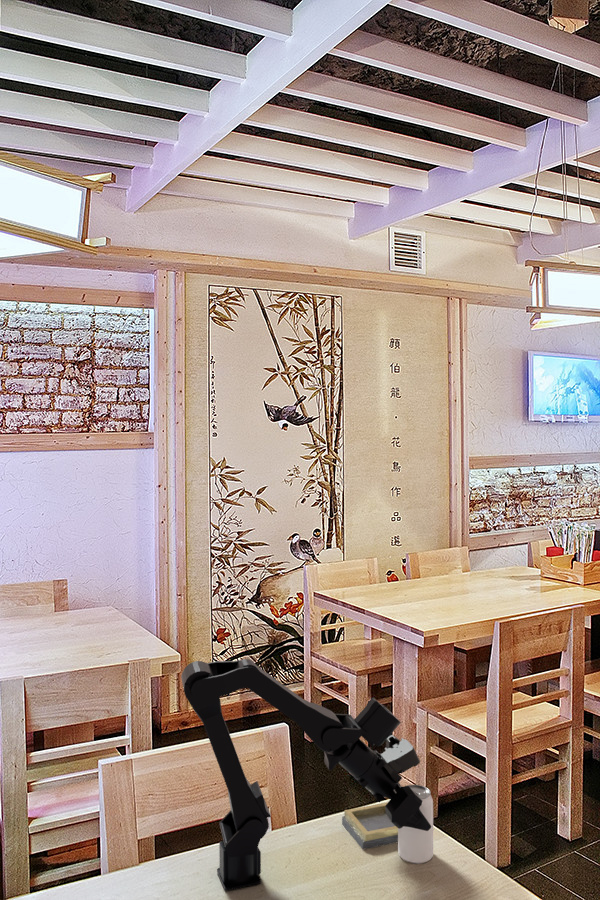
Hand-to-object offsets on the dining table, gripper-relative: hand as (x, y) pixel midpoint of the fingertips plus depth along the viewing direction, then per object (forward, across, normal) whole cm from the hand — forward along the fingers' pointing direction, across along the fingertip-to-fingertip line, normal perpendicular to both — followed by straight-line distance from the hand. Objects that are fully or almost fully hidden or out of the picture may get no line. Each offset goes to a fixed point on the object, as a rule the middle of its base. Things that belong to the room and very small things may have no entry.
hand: (419, 816), depth 141 cm
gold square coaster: (+2, +10, +9) cm, 13 cm away
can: (+5, 0, +6) cm, 7 cm away
